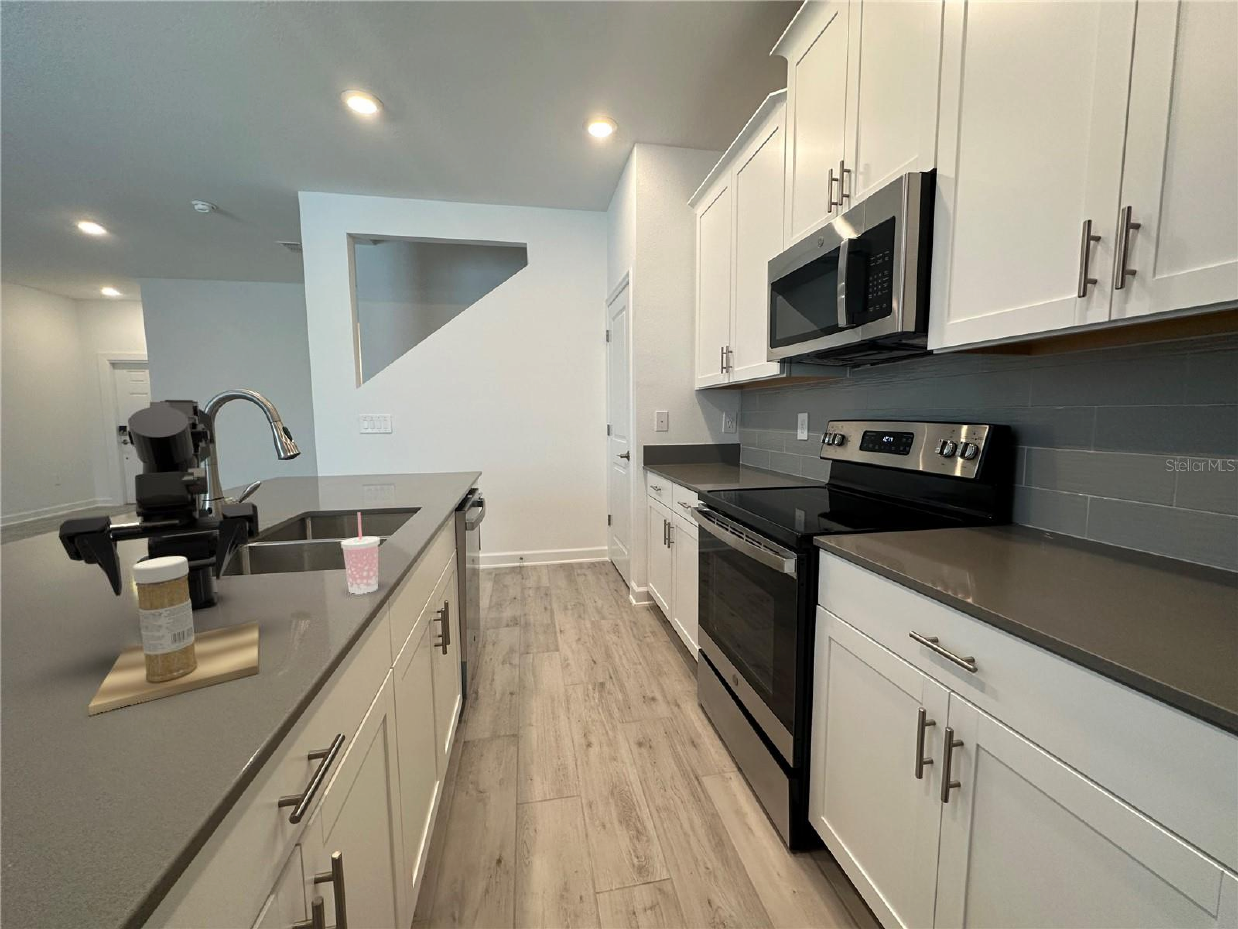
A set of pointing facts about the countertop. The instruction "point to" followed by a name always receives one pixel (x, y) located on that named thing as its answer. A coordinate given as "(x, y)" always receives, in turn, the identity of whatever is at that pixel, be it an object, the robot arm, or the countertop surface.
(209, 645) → the oak board
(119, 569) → the robot arm
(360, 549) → the beverage cup
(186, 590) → the sprinkles bottle
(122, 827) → the countertop surface
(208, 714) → the countertop surface
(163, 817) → the countertop surface
